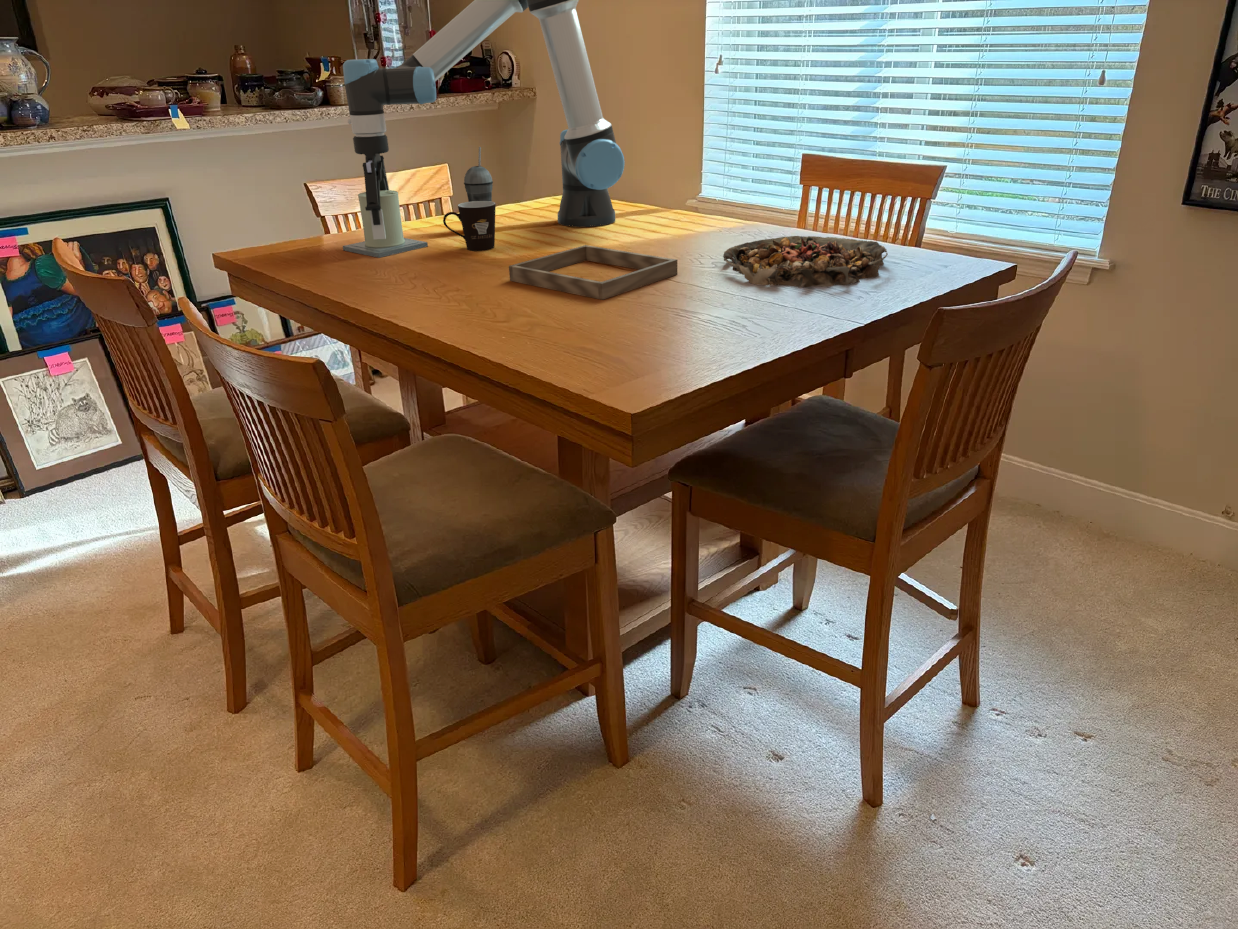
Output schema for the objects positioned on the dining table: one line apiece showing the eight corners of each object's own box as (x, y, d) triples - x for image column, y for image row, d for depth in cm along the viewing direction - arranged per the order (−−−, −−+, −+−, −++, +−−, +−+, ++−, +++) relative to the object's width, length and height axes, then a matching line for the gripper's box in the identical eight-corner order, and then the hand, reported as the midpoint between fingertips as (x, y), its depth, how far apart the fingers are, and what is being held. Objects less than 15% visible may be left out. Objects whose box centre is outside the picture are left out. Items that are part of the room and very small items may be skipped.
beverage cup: (465, 228, 232) (456, 146, 223) (492, 225, 235) (484, 144, 226) (473, 233, 226) (464, 149, 217) (500, 230, 229) (493, 147, 220)
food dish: (800, 305, 164) (801, 263, 161) (690, 274, 190) (688, 237, 186) (928, 269, 181) (931, 230, 178) (811, 245, 206) (812, 211, 203)
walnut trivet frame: (677, 274, 183) (677, 259, 181) (602, 299, 167) (602, 283, 166) (586, 258, 197) (585, 244, 196) (509, 280, 182) (508, 265, 180)
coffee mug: (502, 243, 214) (499, 200, 209) (494, 251, 206) (490, 207, 202) (455, 244, 215) (450, 201, 211) (445, 252, 207) (440, 207, 203)
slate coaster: (427, 246, 214) (427, 241, 213) (378, 257, 204) (378, 252, 204) (391, 239, 222) (391, 235, 221) (343, 250, 212) (342, 245, 212)
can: (399, 247, 208) (392, 193, 203) (360, 248, 208) (352, 194, 203) (408, 238, 217) (402, 187, 211) (370, 239, 217) (363, 188, 212)
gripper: (361, 129, 212) (375, 225, 222) (342, 140, 191) (358, 244, 201) (393, 128, 212) (406, 223, 222) (378, 139, 192) (392, 243, 201)
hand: (383, 233), depth 211 cm, fingers open, 11 cm apart
